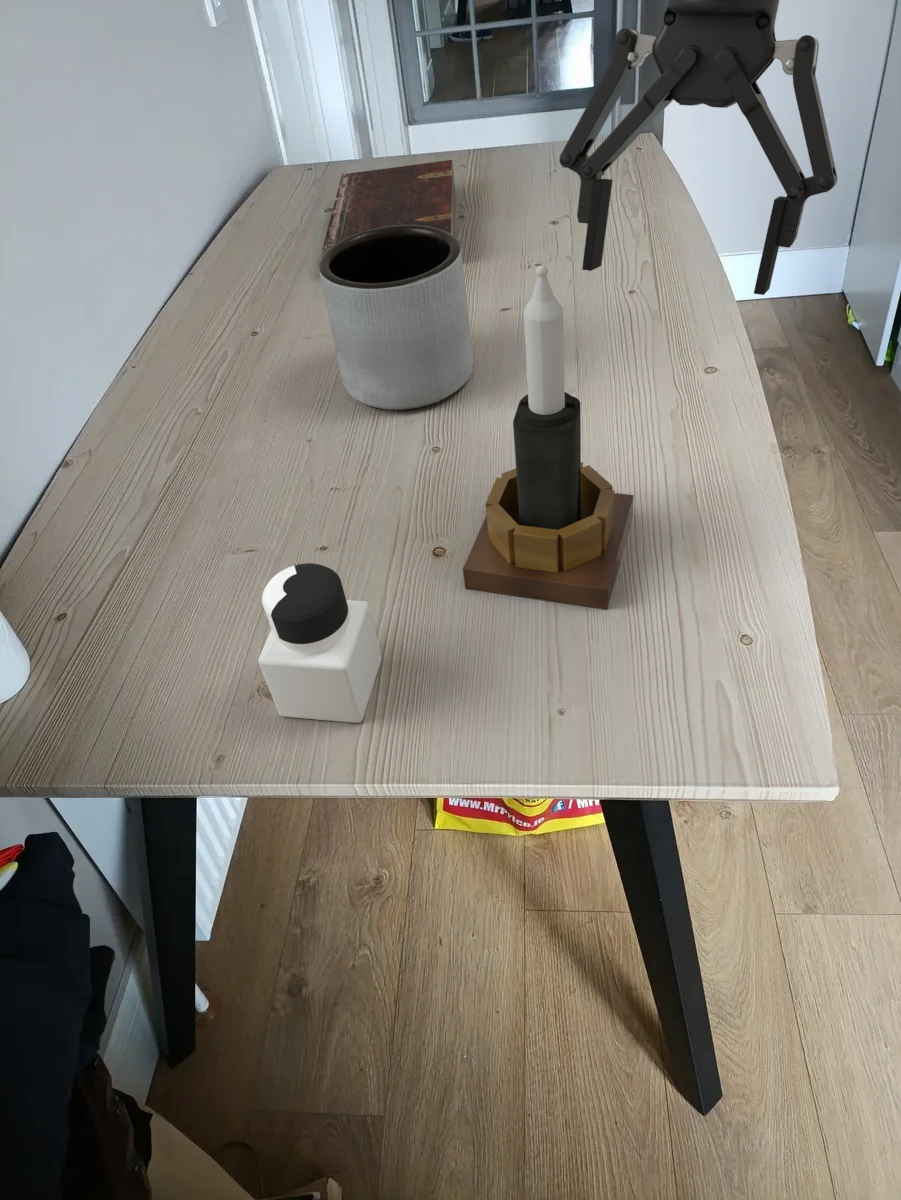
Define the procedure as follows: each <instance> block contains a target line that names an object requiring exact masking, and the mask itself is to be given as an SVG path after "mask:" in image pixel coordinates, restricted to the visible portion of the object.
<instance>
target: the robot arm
mask: <svg viewBox="0 0 901 1200" xmlns="http://www.w3.org/2000/svg"><path fill="white" fill-rule="evenodd" d="M779 5H780V0H665V5H664V12H663V19H662V23H661V26H660V29H659V31H658V33H657V34H656V35H651V34H644V33H640V32H639V31H637V30H635V29H630V28H620V30H619V31H617V33H616V36H615V39H614V43H613V47H612V52H611V58H610V61H609V65H608V66H607V68H606V70H605V72H604V74H603V76H602V78H601V80H600V82H599V83H598V85H597V86H596V89H595V90H594V93H593V94H592V96H591V98H590V99H589V101H588V104H587V105H586V107H585V109H584V111H583V112H582V115H581V116H580V118H579V120H578V121H577V124H576V125H575V127H574V129H573V131H572V133H571V134H570V137H569V138H568V140H567V142H566V143H565V146H564V148H563V150H562V151H561V153H560V155H559V159H558V160H559V161H558V162H559V164H560V166H562V168H566V169H569V170H571V171H573V172H574V173H576V174H577V175H578V176H579V179H580V187H579V196H578V204H577V213H576V218H577V222H578V223H580V224H587V226H586V235H585V242H584V250H583V251H584V252H583V258H582V259H583V260H582V267H581V270H583V271H589V272H592V271H594V270H596V269H599V268H600V267H602V262H603V256H604V247H605V240H606V234H607V233H606V232H607V225H608V217H609V210H610V201H611V194H612V186H613V179H611V178H603V176H605V175H606V174H605V172H606V171H607V170H608V169H609V168H611V166H612V165H613V164H614V163H615V162H616V160H618V158H619V157H621V155H622V154H623V153H624V152H625V151H626V150H627V149H628V148H629V146H630V145H631V144H632V143H634V141H635V140H636V139H637V138H638V137H639V136H640V135H641V134H642V132H643V131H645V130H646V128H647V127H648V126H649V125H650V124H651V123H652V122H653V121H654V120H655V118H657V117H658V115H659V114H660V113H661V112H662V111H663V110H665V109H666V108H667V107H668V106H669V105H670V104H671V103H672V102H673V101H674V102H675V103H677V104H679V106H699V105H705V106H708V107H710V108H718V109H719V108H722V109H726V108H727V109H728V108H730V107H731V106H734V105H736V104H737V106H738V108H739V110H740V111H741V114H742V115H743V116H744V117H745V119H746V120H747V122H748V124H749V126H750V128H751V130H752V132H753V133H754V135H755V138H756V140H757V141H758V143H759V145H760V146H761V148H762V151H763V152H764V154H765V156H766V158H767V160H768V162H769V164H770V165H771V167H772V170H773V171H774V173H775V175H776V177H777V179H778V181H779V182H780V184H781V186H782V188H783V190H784V192H785V193H786V196H782V195H781V196H780V195H779V196H777V197H776V198H774V199H773V205H772V207H771V213H770V217H769V221H768V226H767V231H766V235H765V239H764V244H763V249H762V253H761V257H760V263H759V266H758V272H757V276H756V281H755V284H754V285H755V286H754V289H753V295H762V296H765V294H766V293H767V292H769V290H770V288H771V283H772V279H773V275H774V271H775V266H776V262H777V257H778V253H779V248H780V247H782V248H788V249H789V248H791V247H792V246H793V245H794V243H795V241H796V240H797V238H798V233H799V229H800V226H801V225H800V224H801V220H802V216H803V212H804V208H805V204H806V201H807V200H808V199H809V198H810V197H812V196H815V195H820V194H823V193H827V192H829V191H831V190H833V189H834V188H835V187H836V185H837V183H838V174H837V170H836V163H835V161H834V155H833V150H832V145H831V142H830V137H829V132H828V127H827V122H826V118H825V114H824V113H825V112H824V108H823V105H822V100H821V94H820V90H819V84H818V81H817V76H816V74H817V65H818V59H819V58H818V57H819V48H820V43H819V40H818V39H817V37H814V36H812V35H810V34H805V35H803V36H801V37H799V38H797V39H794V38H793V39H785V40H784V39H782V40H777V38H776V32H775V27H776V26H775V25H776V20H777V15H778V9H779ZM650 54H652V57H653V60H654V61H655V64H656V66H657V68H658V71H659V73H660V76H659V77H658V78H657V79H656V80H655V82H654V83H653V84H651V86H650V87H649V88H648V89H647V90H646V91H645V93H644V94H643V96H642V98H641V99H640V100H639V101H638V102H637V104H636V105H634V106H633V108H632V109H631V110H630V111H629V112H628V113H627V115H626V116H624V118H623V119H622V120H621V121H620V123H619V124H618V125H617V126H616V127H615V128H614V129H613V130H612V131H611V132H610V134H609V135H608V136H607V137H606V138H605V139H604V140H603V142H601V144H600V145H599V146H598V147H597V148H596V149H595V150H594V151H593V152H592V153H591V155H588V154H589V152H590V150H591V149H592V147H593V145H594V143H595V141H596V140H597V138H598V136H599V134H600V132H601V131H602V129H603V127H604V125H605V124H606V122H607V121H608V118H609V116H610V115H611V113H612V111H613V109H614V108H615V106H616V104H617V102H618V101H619V98H621V96H622V93H623V92H624V90H625V88H626V86H627V85H628V83H629V81H630V79H631V77H632V74H633V73H634V70H635V68H638V67H641V66H642V65H643V64H644V62H645V61H646V58H647V57H648V56H649V55H650ZM775 60H779V61H780V63H781V66H782V71H783V73H784V74H786V75H788V76H792V84H793V85H792V86H793V90H794V95H795V100H796V104H797V109H798V113H799V118H800V122H801V126H802V131H803V135H804V136H803V137H804V140H805V144H806V150H807V153H808V159H809V162H810V166H811V167H810V168H811V171H812V175H811V176H807V177H806V176H805V174H804V172H803V170H802V168H801V166H800V165H799V163H798V161H797V159H796V157H795V155H794V153H793V152H792V149H791V147H790V145H789V143H788V142H787V140H786V138H785V136H784V134H783V132H782V130H781V129H780V127H779V125H778V122H777V120H776V119H775V117H774V115H773V113H772V111H771V109H770V107H769V105H768V102H767V99H766V97H765V95H764V93H763V92H762V90H761V88H760V87H759V85H758V80H759V79H760V78H761V77H762V75H763V74H764V73H765V72H766V71H767V69H769V67H770V66H771V65H772V64H773V62H774V61H775Z"/></svg>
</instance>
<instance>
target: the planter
mask: <svg viewBox="0 0 901 1200" xmlns="http://www.w3.org/2000/svg"><path fill="white" fill-rule="evenodd" d="M318 273H319V278H320V283H321V287H322V291H323V296H324V300H325V306H326V311H327V314H328V319H329V324H330V325H329V326H330V330H331V335H332V339H333V345H334V350H335V354H336V360H337V364H338V369H339V374H340V379H341V382H342V385H343V387H344V389H345V391H346V392H347V394H348V395H349V396H350V397H351V398H353V399H354V400H356V401H358V402H360V403H362V404H364V405H367V406H370V407H372V408H378V409H381V410H388V411H407V410H413V409H414V410H415V409H421V408H424V407H428V406H430V405H433V404H436V403H439V402H441V401H443V400H445V399H446V398H448V397H450V396H451V395H453V394H455V393H456V392H458V391H459V390H460V389H461V388H462V387H463V386H464V385H465V384H466V383H467V382H468V380H470V377H471V375H472V373H473V370H474V350H473V342H472V333H471V332H472V331H471V325H470V316H469V309H468V299H467V289H466V282H465V281H466V280H465V273H464V263H463V253H462V245H461V243H460V241H459V239H458V238H457V237H456V235H454V236H453V235H452V234H450V233H448V232H446V231H444V230H441V229H438V228H434V227H429V226H422V225H395V226H387V227H381V228H376V229H371V230H368V231H364V232H361V233H358V234H355V235H352V236H350V237H348V238H346V239H344V240H342V241H340V242H338V243H337V244H335V245H334V246H332V247H331V248H330V249H328V250H327V251H326V252H325V253H324V255H323V256H322V255H321V258H320V259H319V262H318Z"/></svg>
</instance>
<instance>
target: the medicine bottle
mask: <svg viewBox="0 0 901 1200" xmlns="http://www.w3.org/2000/svg"><path fill="white" fill-rule="evenodd" d="M261 604H262V607H263V609H264V613H265V615H266V618H267V621H268V623H269V626H270V628H271V630H270V631H269V634H268V636H267V638H266V641H265V643H264V645H263V648H262V650H261V652H260V655H259V657H258V664H259V667H260V670H261V672H262V675H263V677H264V680H265V682H266V685H267V687H268V690H269V692H270V695H271V697H272V700H273V702H274V705H275V707H276V711H277V712H278V715H279V716H280V717H283V718H296V719H305V720H306V719H308V720H317V721H329V722H339V723H340V722H342V723H352V724H353V723H354V724H355V723H356V724H360V723H362V722H363V720H364V717H365V714H366V711H367V708H368V704H369V701H370V698H371V695H372V691H373V688H374V685H375V681H376V678H377V675H378V672H379V669H380V665H381V662H382V653H381V649H380V646H379V645H380V644H379V641H378V637H377V633H376V629H375V625H374V620H373V616H372V612H371V609H370V608H371V607H370V605H369V603H368V601H366V600H352V599H347V598H346V594H345V590H344V586H343V583H342V580H341V577H340V576H339V574H338V573H337V572H336V571H335V570H334V569H332V568H331V567H328V566H326V565H323V564H319V563H313V562H312V563H310V562H308V563H299V564H294V565H292V566H289V567H286V568H284V569H282V570H280V571H279V572H278V573H276V574H275V575H274V576H273V577H272V578H271V579H270V580H269V581H268V582H267V584H266V585H265V587H264V589H263V591H262V595H261Z"/></svg>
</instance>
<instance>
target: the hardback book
mask: <svg viewBox="0 0 901 1200" xmlns="http://www.w3.org/2000/svg"><path fill="white" fill-rule="evenodd" d="M335 196H336V197H335V199H334V203H333V206H332V207H333V208H332V211H331V216H330V219H329V222H328V227H327V231H326V234H325V238H324V242H323V245H322V253H321V254H322V255H321V257H322V256H323V255H324V253H325V252H326V251H327V250H328V249H330V248H331V247H332V246H334V245H335V244H337V243H338V242H340V241H342V240H344V239H346V238H348V237H350V236H352V235H355V234H358V233H361V232H364V231H368V230H371V229H376V228H381V227H387V226H395V225H422V226H429V227H434V228H438V229H441V230H444V231H446V232H448V233H450V234H452V235H453V236H455V221H456V220H455V219H456V218H455V215H456V213H455V210H456V207H455V206H456V187H455V175H454V164H453V159H446V160H440V161H432V162H423V163H417V164H410V165H409V164H408V165H402V166H395V167H386V168H380V169H370V170H365V171H364V170H363V171H355V172H347V173H342V174H341V176H340V181H339V184H338V189H337V192H336V195H335Z"/></svg>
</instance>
